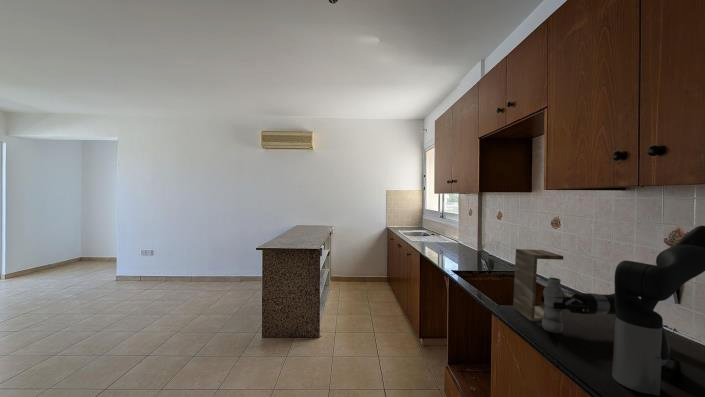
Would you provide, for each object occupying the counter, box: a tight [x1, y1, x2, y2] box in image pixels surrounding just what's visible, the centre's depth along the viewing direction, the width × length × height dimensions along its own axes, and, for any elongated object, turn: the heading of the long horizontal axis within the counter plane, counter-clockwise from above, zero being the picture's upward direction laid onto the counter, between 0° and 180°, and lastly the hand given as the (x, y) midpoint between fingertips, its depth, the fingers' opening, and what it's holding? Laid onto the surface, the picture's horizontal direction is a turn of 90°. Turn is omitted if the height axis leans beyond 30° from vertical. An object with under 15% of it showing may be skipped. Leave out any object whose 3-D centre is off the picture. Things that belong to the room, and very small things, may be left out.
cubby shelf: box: [512, 248, 564, 322], centre depth 127 cm, size 12×13×27 cm
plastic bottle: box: [541, 277, 565, 334], centre depth 111 cm, size 6×7×20 cm
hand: (547, 302), depth 111 cm, fingers open, 6 cm apart
